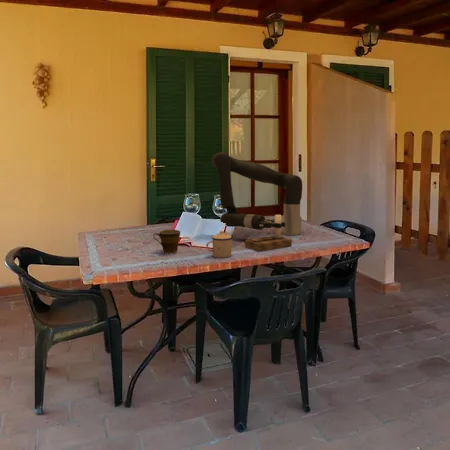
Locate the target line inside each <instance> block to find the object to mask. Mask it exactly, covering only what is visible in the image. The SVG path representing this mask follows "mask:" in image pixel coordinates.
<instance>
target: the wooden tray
mask: <svg viewBox="0 0 450 450" xmlns="http://www.w3.org/2000/svg"><path fill="white" fill-rule="evenodd" d="M272 236H273V235H270V236H264V237H256V238H250V239H245V240H244V247H245V248H247V249H250V250H254V251H256V252H260V253H261V252H265V251H271V250H277V249H278V250H279V249H283V248H288V247H292V241H293V239H292V238H287V237H284V236H282V237H283V238H280V239H276V238H272Z"/></svg>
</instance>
